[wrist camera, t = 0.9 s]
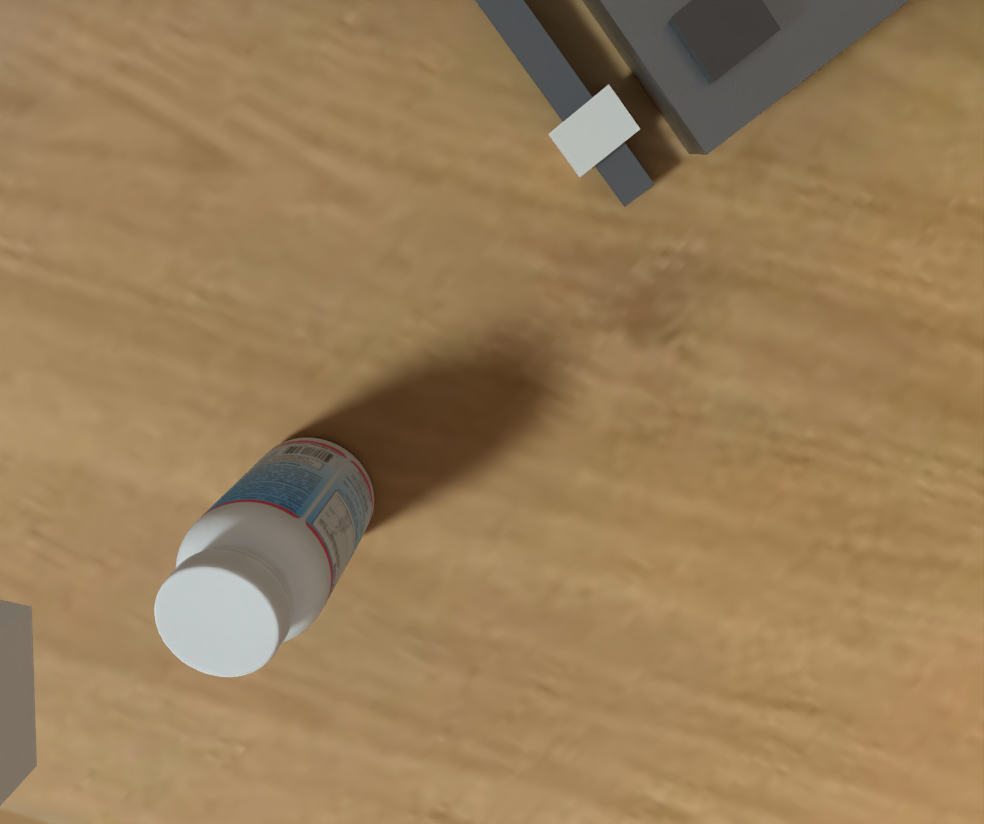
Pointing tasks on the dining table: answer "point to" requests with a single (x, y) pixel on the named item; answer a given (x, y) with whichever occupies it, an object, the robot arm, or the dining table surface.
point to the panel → (729, 54)
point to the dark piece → (573, 103)
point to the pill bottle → (265, 557)
